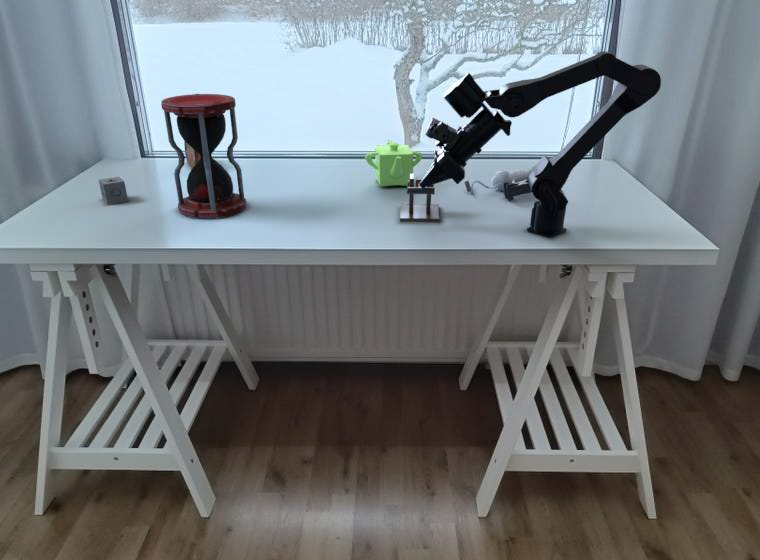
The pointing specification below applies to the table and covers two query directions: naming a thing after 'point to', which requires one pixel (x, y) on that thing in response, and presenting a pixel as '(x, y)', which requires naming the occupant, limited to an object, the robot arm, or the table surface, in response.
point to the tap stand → (419, 208)
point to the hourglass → (205, 154)
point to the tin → (191, 155)
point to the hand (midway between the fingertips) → (420, 186)
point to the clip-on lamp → (508, 183)
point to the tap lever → (420, 189)
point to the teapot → (393, 163)
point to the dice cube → (113, 190)
